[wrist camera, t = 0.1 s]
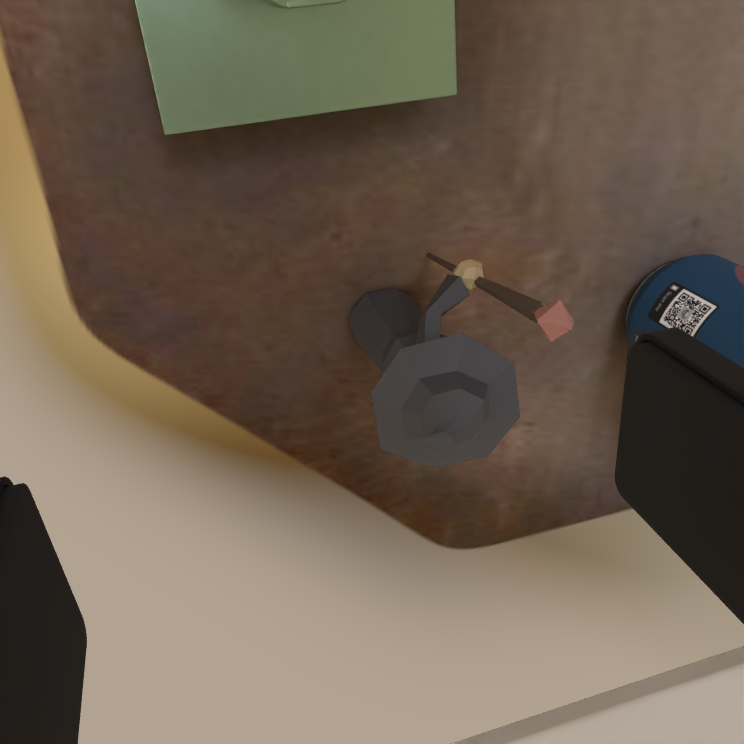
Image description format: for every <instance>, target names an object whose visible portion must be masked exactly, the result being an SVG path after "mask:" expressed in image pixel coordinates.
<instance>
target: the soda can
mask: <svg viewBox="0 0 744 744" xmlns="http://www.w3.org/2000/svg"><path fill="white" fill-rule="evenodd" d="M674 327H676V328H679V329H681V330H683V331H685V332H686V333H688V334H689V335H691V336H693V337H694V338H696V339H697V340H699V341H701V342H702V343H704V344H706V345H707V346H709V347H710V348H712V349H714V350H715V351H717V352H719V353H720V354H722V355H723V356H725V357H727V358H728V359H730V360H732V361H733V362H735V363H736V364H738V365H740V366H741V367H743V368H744V267H742V266H740V265H738V264H736V263H733V262H731V261H729V260H727V259H724V258H722V257H719V256H716V255H707V254H703V255H694V256H689V257H685V258H682V259H678V260H675V261H672V262H669V263H667V264H665V265H663V266H661V267H659V268H658V269H656V270H655V271H653V272H652V273H651V274H650V275H649V276H648V277H647V278H646V279H645V280H644V281H643V282H642V283H641V284H640V286H639V287H638V288H637V290H636V292H635V293H634V295H633V297H632V299H631V301H630V304H629V307H628V310H627V316H626V328H627V336H628V342H629V346H630V347H632V346H633V345H635V343H636V340H637V339H638V337H639V336H641V335H642V334H645V333H650V332H654V331H659V330H663V329H668V328H674Z"/></svg>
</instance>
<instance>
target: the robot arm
mask: <svg viewBox="0 0 744 744" xmlns="http://www.w3.org/2000/svg"><path fill="white" fill-rule="evenodd" d="M615 482H616V486H617V489H618V491H619V493H620V495H621V496H622V497H623V498H624V499H625V500H626V502H627V503H628V504H629V505H630V506H631V507H632V508H633V509H634V510H635V511H636V512H637V513H638V514H639V515H640V516H641V517H642V518H643V519H644V520H645V521H646V522H647V523H648V524H649V526H650V527H651V528H652V529H653V530H654V531H655V532H656V533H657V534H658V535H659V536H660V537H661V538H662V539H663V540H664V541H665V542H666V543H667V544H668V545H669V546H670V547H671V549H672V550H673V551H674V552H675V553H676V554H677V555H678V556H679V557H680V558H681V559H682V560H683V561H684V562H685V563H686V564H687V565H688V566H689V567H690V568H691V569H692V571H693V572H694V573H695V574H696V575H697V576H698V577H699V578H700V579H701V580H702V581H703V582H704V583H705V584H706V585H707V586H708V587H709V588H710V589H711V590H712V591H713V592H714V594H715V595H716V596H717V597H719V599H720V600H721V601H722V602H723V603H724V604H725V605H726V606H727V607H728V608H729V609H730V610H731V611H732V612H733V613H734V614H735V615H736V617H737V618H738V619H739V620H740V621H741V622H742V623H743V624H744V368H743V367H741V366H740V365H738V364H736V363H735V362H733V361H732V360H730V359H728V358H727V357H725V356H723V355H722V354H720V353H719V352H717V351H715V350H714V349H712V348H710V347H709V346H707V345H706V344H704V343H702V342H701V341H699V340H697V339H696V338H694V337H693V336H691V335H689V334H688V333H686V332H685V331H683V330H681V329H679V328H676V327H674V328H668V329H663V330H659V331H654V332H650V333H645V334H642V335H641V336H639V337H638V339H637V340H636V343H635V345H633V346H632V347H630V349H629V351H628V356H627V365H626V375H625V384H624V393H623V403H622V412H621V422H620V431H619V440H618V450H617V459H616V468H615ZM86 647H87V636H86V628H85V624H84V620H83V617H82V614H81V612H80V610H79V607H78V605H77V602H76V600H75V598H74V595H73V593H72V591H71V588H70V586H69V583H68V581H67V578H66V576H65V574H64V571H63V569H62V566H61V564H60V562H59V559H58V557H57V554H56V552H55V550H54V547H53V545H52V542H51V540H50V538H49V535H48V533H47V530H46V528H45V525H44V523H43V521H42V518H41V516H40V513H39V511H38V509H37V506H36V504H35V501H34V499H33V497H32V494H31V492H30V490H29V488H28V486H27V485H26V484H24V483H22V484H17V485H13V483H12V482H11V480H10V479H9V478H7V477H1V478H0V744H78V733H79V723H80V712H81V701H82V689H83V679H84V668H85V657H86ZM452 744H744V646H743V647H740V648H737V649H734V650H731V651H728V652H725V653H722V654H719V655H716V656H713V657H709V658H706V659H704V660H700V661H697V662H694V663H692V664H688V665H685V666H682V667H679V668H676V669H673V670H670V671H667V672H664V673H661V674H658V675H655V676H652V677H649V678H646V679H643V680H640V681H637V682H634V683H631V684H628V685H625V686H622V687H619V688H616V689H613V690H610V691H607V692H604V693H601V694H598V695H595V696H592V697H589V698H586V699H583V700H580V701H577V702H574V703H571V704H568V705H565V706H562V707H559V708H556V709H553V710H550V711H547V712H544V713H542V714H538V715H536V716H532V717H529V718H526V719H524V720H520V721H518V722H515V723H512V724H509V725H506V726H503V727H500V728H497V729H494V730H491V731H488V732H485V733H482V734H479V735H476V736H473V737H470V738H467V739H464V740H461V741H458V742H455V743H452Z"/></svg>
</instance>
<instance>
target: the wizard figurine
mask: <svg viewBox="0 0 744 744" xmlns="http://www.w3.org/2000/svg"><path fill="white" fill-rule="evenodd" d="M427 257H428V258H430V259H431V260H433V261H435V262H436V263H438V264H440V265H442V266H443V267H445V268H447V269H448V270H450V271H452V272H454V276H453V275H447V276H446V278H445V279H444V281H443V283H442V284H441V286H440V287H439V289H438V290H437V292H436V294H435V295H434V297H433V298H432V300H431V301H430V303H429V305H428V306H427V308H426V309H425V311H424V312H423V311H422V309H421V306H420V304H419V302H418V300H417V299H415V298H413V297H411V296H410V294H409V293H408V292H400V291H398V290H396V289H394V288H390V289H385V290H380V291H375V292H370V293H366V294H365V295H364V296H363V298H362V299H361V300H360V302H359V303H358V304H357V306H356V307H355V308H354V310H353V311H352V312H351V314H350V315H349V316H348V318H349V321H350V324H351V327H352V330H353V333H354V336H355V339H356V342H357V343H358V345H359V346H360V347H361V348H362V349H363V350H364V351H365V353H366V354H367V355H368V356H369V357H370V358H371V359H372V361H373V362H374V363H375V364H376V365H377V366H378V367H379V368H380V370H381V371H382V372H383V373H384V374H383V376H382V377H381V379H380V380H379V382H378V383H377V385H376V386H375V388H374V389H373V391H372V392H371V398H372V404H373V409H374V415H375V420H376V426H377V431H378V436H379V442H380V447H381V449H382V450H384V451H387V452H390V453H393V454H395V455H398V456H401V457H404V458H407V459H409V460H412V461H415V462H418V463H421V464H423V465H426V466H429V467H432V468H434V467H438V466H443V465H448V464H453V463H458V462H463V461H468V460H473V459H478V458H483V457H487V456H488V455H489V454H490V453H491V451H492V450H493V449H494V448H495V447H496V445H497V444H498V443H499V442H500V440H501V439H502V438H503V437H504V436H505V434H506V433H507V432H508V431H509V429H510V428H511V427H512V426H513V424H514V423H515V422H516V421H517V420H518V418H519V417H520V411H519V402H518V394H517V385H516V377H515V368H514V363H513V362H511V361H509V360H508V359H506V358H504V357H503V356H501V355H499V354H498V353H496V352H494V351H493V350H491V349H489V348H488V347H486V346H484V345H483V344H481V343H479V342H478V341H476V340H474V339H472V338H471V337H469V336H467V335H466V334H464V333H459V334H456V335H452V336H444V335H441V334H440V326H441V316H442V315H444V314H445V313H446V312H448V311H449V310H450V309H452V308H453V307H454V306H456V305H457V304H458V303H460V302H461V301H462V300H464V299H465V298H466V297H468V296H469V293H468V291H467V290H471V289H473V288H475V287H479V288H481V289H482V290H484V291H485V292H487V293H489V294H490V295H492V296H494V297H495V298H497V299H498V300H500V301H502V302H503V303H505V304H506V305H508V306H510V307H511V308H513V309H514V310H516V311H518V312H519V313H521V314H522V315H524V316H526V317H527V318H529V319H530V320H532V321H534V322H535V323H537V322H538V323H539V324H540V326H541V327H542V329H543V330H544V332H545V333H546V335H547V336H548V338H549V339H550V341H551V342H552V341H553V340H555V339H557V338H558V337H560V336H561V335H563V334H565V333H566V332H568V331H570V330H571V329H572V327H573V324H574V321H573V319H572V317H571V316H570V314H569V313H568V311H567V309H566V308H565V306H564V305H563V303H562V301H561V300H559V301H556V302H553V303H551V304H548V305H545V306H543V304H542V303H541V302H540V301H537V300H535V299H533V298H530V297H528V296H525V295H523V294H521V293H518V292H516V291H513V290H511V289H509V288H506V287H504V286H501V285H499V284H497V283H494V282H492V281H489V280H487V279H485V278H484V276H483V271H482V264H481V263H479V262H477V261H475V260H473V259H467V260H464V261H462V262H460V263H459V264H458V265H457V266H455V265H453V264H451V263H449V262H447V261H445V260H442V259H440V258H438V257H436V256H434V255H431V254H428V255H427Z"/></svg>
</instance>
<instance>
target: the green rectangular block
mask: <svg viewBox="0 0 744 744" xmlns="http://www.w3.org/2000/svg"><path fill="white" fill-rule="evenodd" d="M134 1H135V6H136V10H137V15H138V19H139V24H140V28H141V33H142V37H143V42H144V46H145V51H146V55H147V59H148V64H149V68H150V73H151V77H152V82H153V86H154V91H155V95H156V100H157V104H158V108H159V113H160V117H161V122H162V126H163V131H164V134H165V135H171V134H179V133H186V132H193V131H200V130H208V129H215V128H222V127H230V126H237V125H244V124H251V123H259V122H266V121H273V120H280V119H288V118H295V117H302V116H309V115H317V114H324V113H331V112H338V111H346V110H353V109H360V108H367V107H375V106H382V105H389V104H396V103H404V102H411V101H418V100H425V99H433V98H440V97H447V96H454V95H457V74H456V33H455V0H134Z"/></svg>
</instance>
